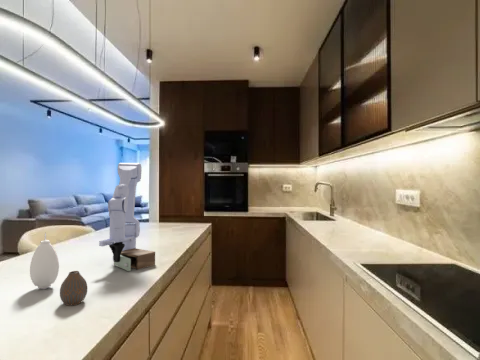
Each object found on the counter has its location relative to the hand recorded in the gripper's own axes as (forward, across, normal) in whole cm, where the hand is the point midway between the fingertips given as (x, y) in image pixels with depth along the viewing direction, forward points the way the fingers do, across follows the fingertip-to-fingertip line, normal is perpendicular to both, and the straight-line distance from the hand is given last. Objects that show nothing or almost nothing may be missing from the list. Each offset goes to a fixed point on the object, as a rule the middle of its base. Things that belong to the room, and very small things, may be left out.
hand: (116, 261), depth 123 cm
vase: (+4, -30, -21) cm, 36 cm away
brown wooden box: (+3, +8, -2) cm, 9 cm away
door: (+2, +1, -2) cm, 3 cm away
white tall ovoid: (+3, -28, -1) cm, 28 cm away
